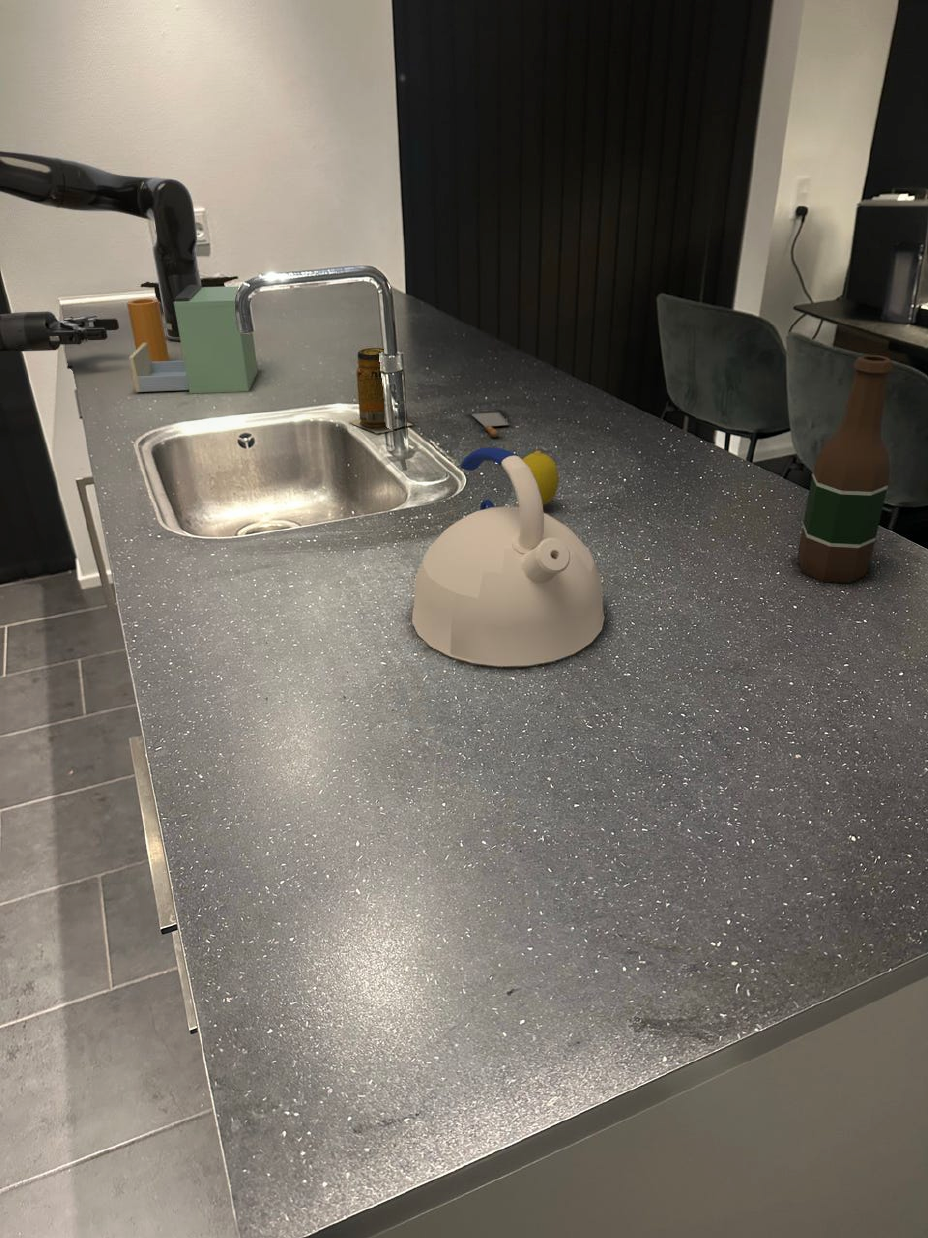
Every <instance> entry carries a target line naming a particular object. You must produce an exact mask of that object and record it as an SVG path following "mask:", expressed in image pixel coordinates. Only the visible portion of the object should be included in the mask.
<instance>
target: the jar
mask: <svg viewBox="0 0 928 1238" xmlns="http://www.w3.org/2000/svg"><path fill="white" fill-rule="evenodd" d="M126 305H127V306H126V307H127V311H128V316H129V322H130V326H131V329H132V330H131V331H132V336H133V341H134V346H135V351H136V350H137V349H138V348H139V347H140V346H141V345H142V344H143V343H147V345H148V350H149V355H150V360H151V362H159V361H171V360H170V356H169V350H168V349H169V348H168V345H167V339H166V338H167V337H166V335H165V334H166V333H165V327H164V323H163V322H164V321H163V317H162V312H161V307H160V302H159V301H158V300H157V298H150V297H149V298H147V297H146V298H137V299H131V300H128V301H127V302H126Z"/></svg>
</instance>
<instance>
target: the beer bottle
mask: <svg viewBox="0 0 928 1238" xmlns="http://www.w3.org/2000/svg"><path fill="white" fill-rule="evenodd" d="M852 367H853V368H854V369H855V371H854V375H853V379H852V382H851V386H850V389H849V394H848V397H847V401H846V405H845V409H844V412H843V415H842V419H841V421H840V424H839V427H838V429H837V431H836V433H834V435H832V436H831V437H830V438H829V439H828V440H827V441H826V442H825V443H824V445H823V446H822V448H821V449H820V451H819V453H818V454H817V456H816V459H815V463H814V466H813V470H812V473H811V480H810V485H809V491H808V497H807V502H806V506H805V513H804V518H803V523H802V528H801V533H800V539H799V543H798V552H797V561H798V563H799V566H800V570H801V572H802V574H804V575H806V576H809V577H811V578H814V579H816V580H818V581H820V582H824V583H837V584H838V583H839V584H851V583H852V582H855V581H857V580H859V579H861V578H863V577H865V576H866V575H867V573H868V570H869V566H870V563H871V559H872V557H873V556H872V555H873V551H874V547H875V542H876V538H877V535H878V529H879V527H880V526H879V525H880V521H881V517H882V512H883V509H884V503H885V499H886V497H887V496H886V495H887V493H888V487H889V480H890V473H891V465H890V464H891V463H890V459H889V453H888V451H887V449H886V447H885V444H884V442H883V440H882V420H883V414H884V406H885V400H886V393H887V387H888V380H889V375H890V373H891V372H893V371H894V366H893V360H891V358H890V357H887V356H884V355H879V354H865V355H862V356H857V358H856V359H855V361H854V363H853V365H852Z"/></svg>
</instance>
